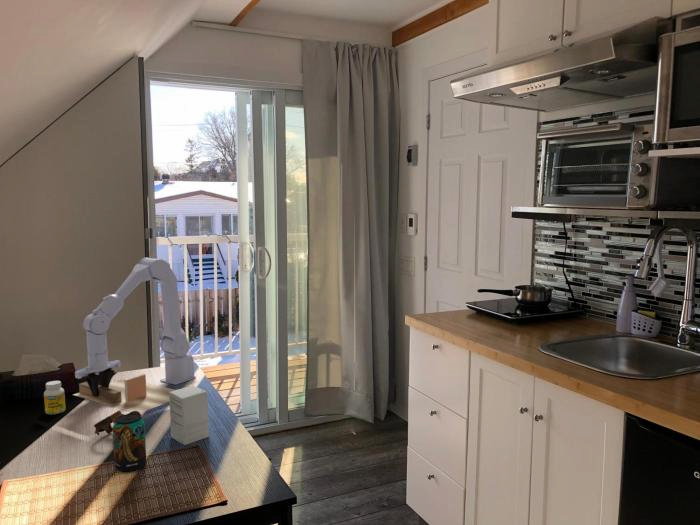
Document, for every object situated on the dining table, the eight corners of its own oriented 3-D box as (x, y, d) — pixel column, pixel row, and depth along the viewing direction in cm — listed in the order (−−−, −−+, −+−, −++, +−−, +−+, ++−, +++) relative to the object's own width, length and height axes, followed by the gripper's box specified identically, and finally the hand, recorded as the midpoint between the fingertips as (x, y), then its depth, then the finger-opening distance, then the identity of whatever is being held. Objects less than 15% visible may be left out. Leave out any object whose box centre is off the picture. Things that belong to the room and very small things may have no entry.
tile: (144, 395, 181) (143, 373, 181) (147, 395, 181) (145, 374, 180) (125, 401, 176) (124, 379, 175) (127, 402, 175) (126, 380, 174)
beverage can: (115, 476, 130) (112, 425, 129) (114, 463, 137) (111, 415, 135) (147, 470, 133) (145, 420, 132) (145, 458, 139) (143, 410, 138)
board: (126, 380, 200) (126, 377, 199) (190, 396, 183) (190, 393, 182) (72, 397, 183) (72, 394, 183) (137, 417, 166) (137, 413, 166)
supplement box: (195, 429, 156) (193, 384, 155) (209, 437, 151) (207, 391, 150) (170, 437, 151) (168, 391, 150) (184, 446, 146) (182, 398, 145)
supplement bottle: (64, 409, 172) (62, 378, 171) (67, 415, 168) (64, 383, 167) (44, 413, 169) (42, 382, 168) (46, 419, 165) (44, 386, 164)
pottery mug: (112, 451, 144) (96, 423, 145) (101, 456, 151) (85, 429, 151) (153, 426, 153) (138, 399, 153) (141, 431, 160) (126, 405, 160)
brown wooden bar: (86, 391, 186) (86, 381, 185) (121, 401, 176) (121, 391, 176) (79, 393, 184) (79, 383, 183) (114, 403, 174) (114, 393, 174)
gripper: (110, 345, 186) (112, 385, 188) (68, 356, 174) (70, 399, 176) (123, 348, 183) (126, 389, 184) (81, 359, 171) (84, 403, 172)
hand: (100, 394), depth 180 cm, fingers open, 3 cm apart
